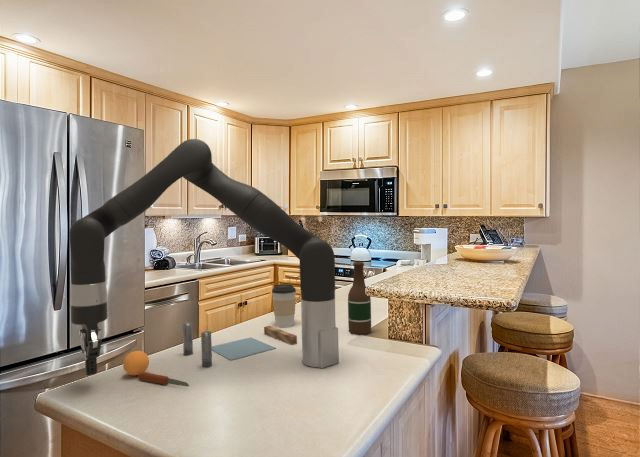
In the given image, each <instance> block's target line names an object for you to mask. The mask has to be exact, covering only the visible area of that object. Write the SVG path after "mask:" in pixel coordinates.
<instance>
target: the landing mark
mask: <svg viewBox="0 0 640 457" xmlns="http://www.w3.org/2000/svg"><path fill="white" fill-rule="evenodd" d="M275 349H277V348H276V347H275V346H273V345H270V344H268V343H265V342H263V341H260V340H259V339H256V338H253V337H251V336H249V337H245V338H241V339H237V340H234V341H229V342H226V343H221V344H217V345H213V346H212V352H214V353H216V354H218V355H220V356H222V357H223V358H225V359H227V360H229V361H234V360H238V359H243V358H246V357H250V356H253V354H254V355H257V354H260V353H265V352H268V350H269V351H272V350H275Z"/></svg>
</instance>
